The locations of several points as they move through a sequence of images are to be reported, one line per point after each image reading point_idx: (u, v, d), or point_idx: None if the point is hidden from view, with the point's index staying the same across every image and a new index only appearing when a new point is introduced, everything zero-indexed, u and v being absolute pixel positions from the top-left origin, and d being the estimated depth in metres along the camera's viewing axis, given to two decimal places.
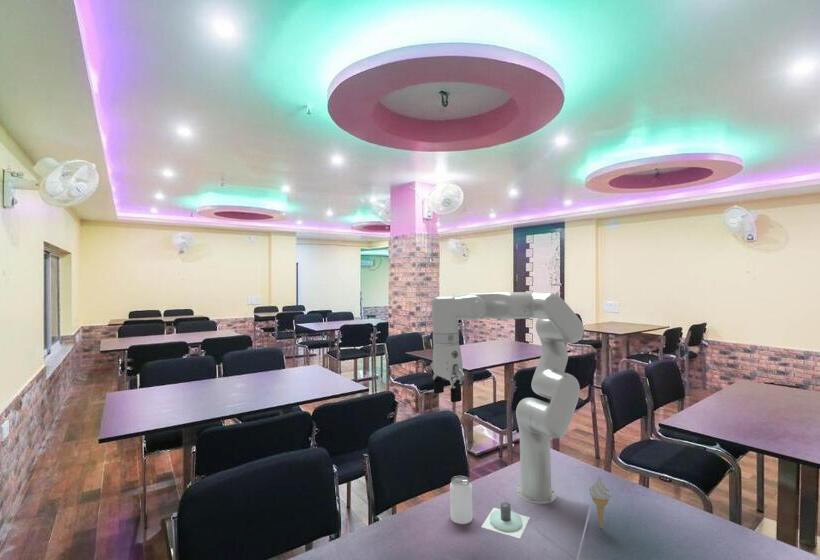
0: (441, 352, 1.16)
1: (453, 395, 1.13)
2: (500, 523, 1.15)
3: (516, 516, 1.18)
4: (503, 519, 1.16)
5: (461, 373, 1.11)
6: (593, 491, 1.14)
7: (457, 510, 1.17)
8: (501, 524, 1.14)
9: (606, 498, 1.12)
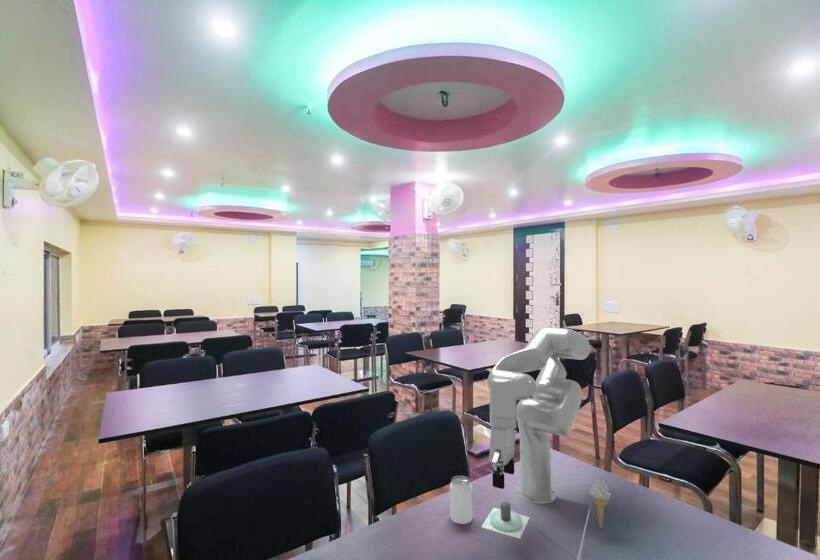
0: (513, 432, 1.17)
1: None
2: (500, 523, 1.15)
3: (516, 516, 1.18)
4: (503, 519, 1.16)
5: None
6: (593, 491, 1.14)
7: (457, 510, 1.17)
8: (501, 524, 1.14)
9: (606, 498, 1.12)
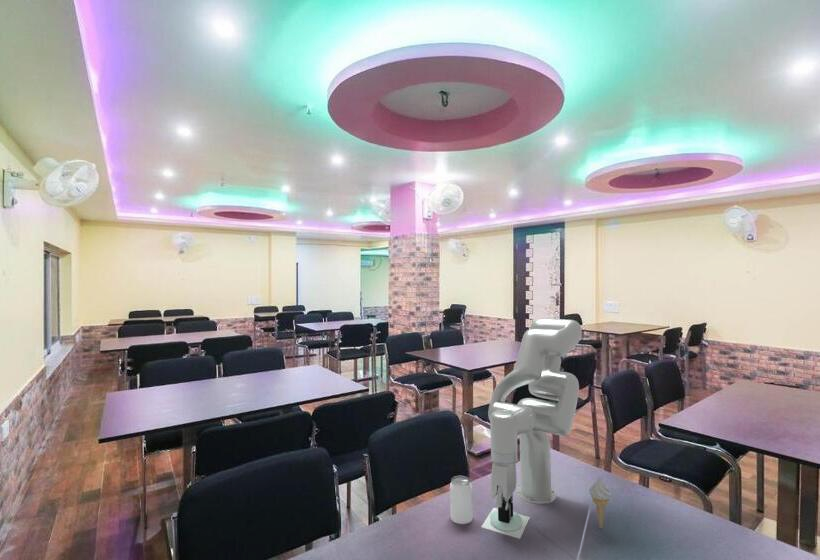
0: (514, 467, 1.17)
1: None
2: (500, 523, 1.15)
3: (516, 516, 1.18)
4: None
5: None
6: (593, 491, 1.14)
7: (457, 510, 1.17)
8: (501, 524, 1.14)
9: (606, 498, 1.12)
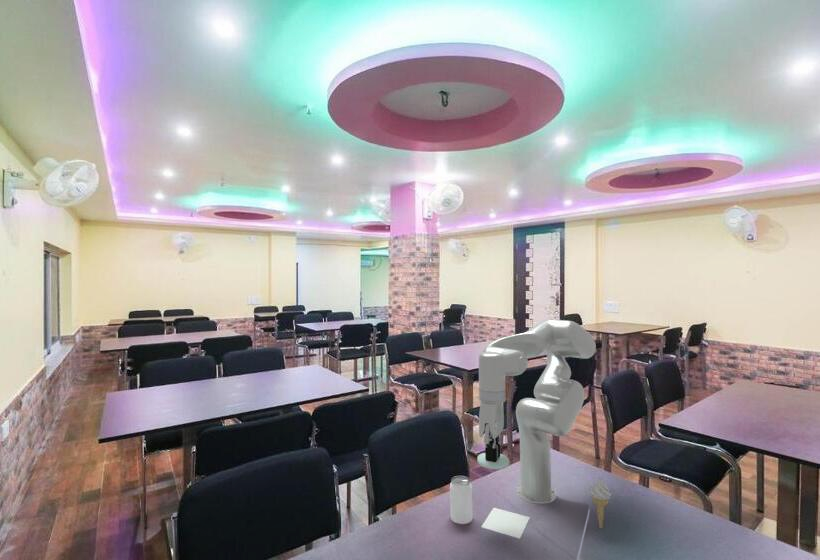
0: (502, 407, 1.18)
1: None
2: (488, 462, 1.15)
3: (503, 457, 1.18)
4: None
5: None
6: (593, 491, 1.14)
7: (457, 510, 1.17)
8: (489, 463, 1.14)
9: (606, 498, 1.12)
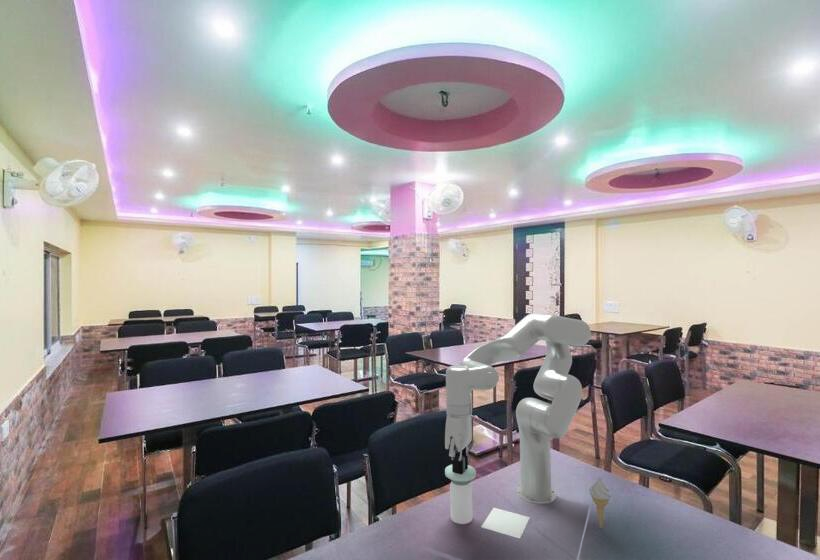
0: (469, 420, 1.20)
1: None
2: (454, 474, 1.17)
3: (471, 468, 1.20)
4: None
5: None
6: (593, 491, 1.14)
7: (457, 510, 1.17)
8: (455, 475, 1.17)
9: (606, 498, 1.12)
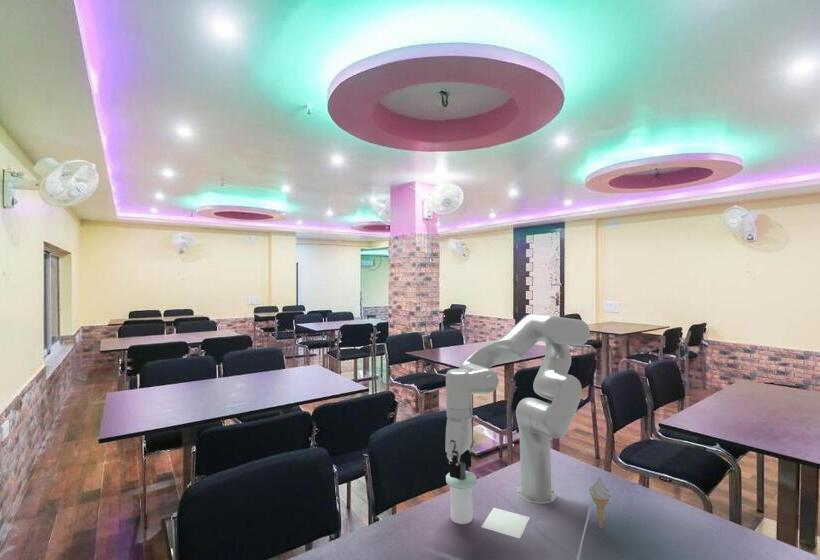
0: (469, 423, 1.20)
1: None
2: (455, 481, 1.17)
3: (471, 475, 1.20)
4: None
5: None
6: (593, 491, 1.14)
7: (457, 510, 1.17)
8: (455, 482, 1.17)
9: (606, 498, 1.12)
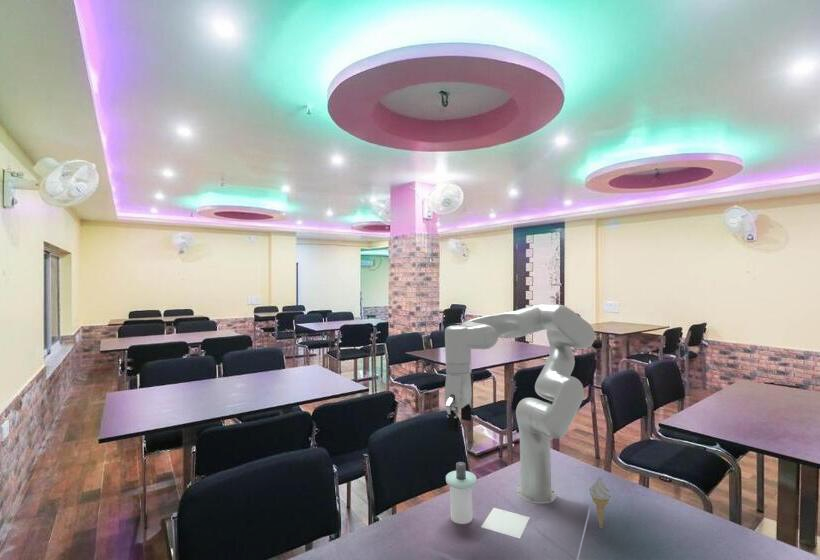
0: (468, 379, 1.20)
1: None
2: (455, 481, 1.17)
3: (471, 475, 1.20)
4: (458, 478, 1.18)
5: None
6: (593, 491, 1.14)
7: (457, 510, 1.17)
8: (455, 482, 1.17)
9: (606, 498, 1.12)
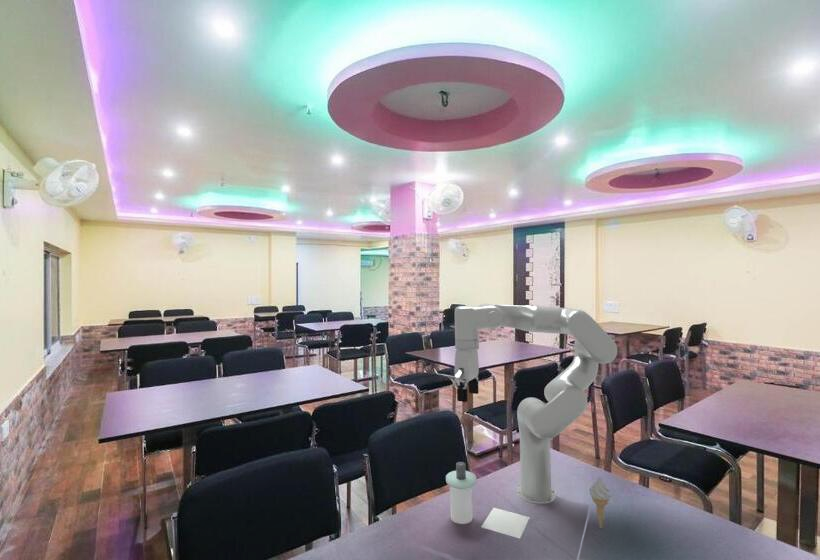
0: (476, 355, 1.31)
1: None
2: (455, 481, 1.17)
3: (471, 475, 1.20)
4: (458, 477, 1.18)
5: None
6: (593, 491, 1.14)
7: (457, 510, 1.17)
8: (455, 482, 1.17)
9: (606, 498, 1.12)
